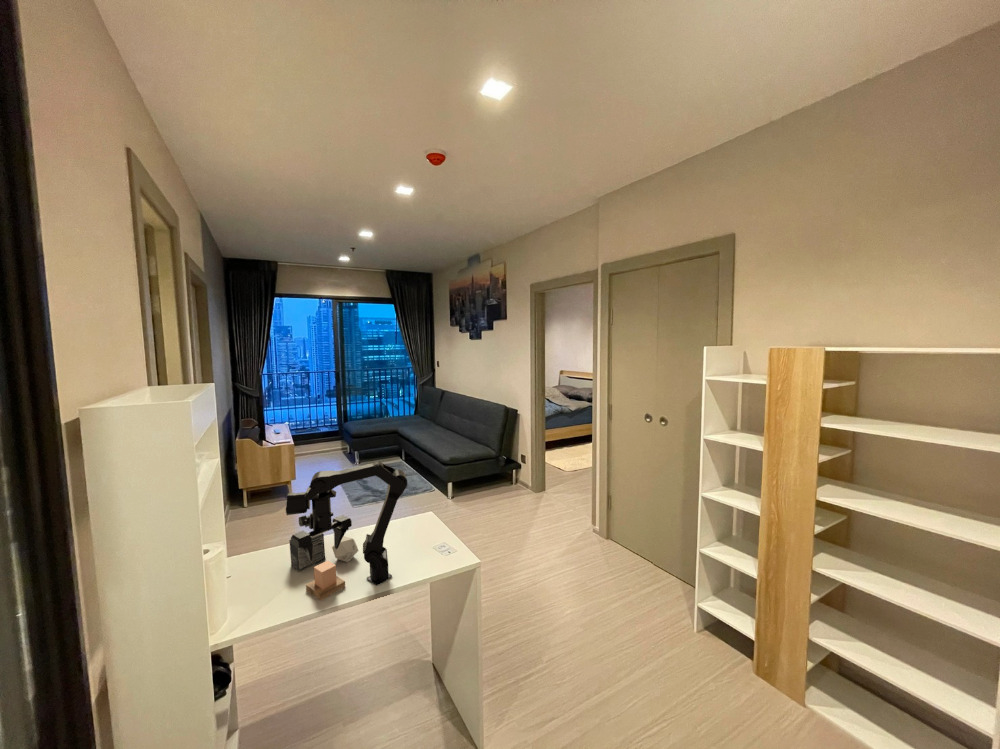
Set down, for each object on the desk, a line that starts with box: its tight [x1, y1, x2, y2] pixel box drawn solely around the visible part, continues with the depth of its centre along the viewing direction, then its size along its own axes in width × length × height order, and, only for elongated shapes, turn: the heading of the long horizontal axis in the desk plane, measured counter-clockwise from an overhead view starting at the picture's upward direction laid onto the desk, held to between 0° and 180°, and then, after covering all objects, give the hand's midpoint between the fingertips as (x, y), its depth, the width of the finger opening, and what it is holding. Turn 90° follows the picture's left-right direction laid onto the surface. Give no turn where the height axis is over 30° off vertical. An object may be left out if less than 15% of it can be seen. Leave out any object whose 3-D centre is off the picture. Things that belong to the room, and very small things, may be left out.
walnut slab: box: [305, 575, 346, 601], centre depth 137 cm, size 9×9×2 cm
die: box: [331, 535, 359, 563], centre depth 155 cm, size 8×9×10 cm
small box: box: [288, 533, 327, 573], centre depth 152 cm, size 11×6×10 cm, turn 141°
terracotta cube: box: [313, 560, 337, 589], centre depth 137 cm, size 5×5×6 cm
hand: (323, 554), depth 136 cm, fingers open, 9 cm apart
